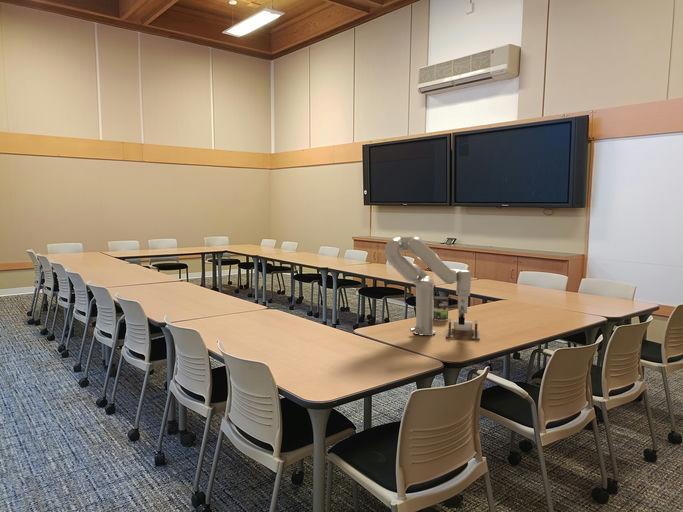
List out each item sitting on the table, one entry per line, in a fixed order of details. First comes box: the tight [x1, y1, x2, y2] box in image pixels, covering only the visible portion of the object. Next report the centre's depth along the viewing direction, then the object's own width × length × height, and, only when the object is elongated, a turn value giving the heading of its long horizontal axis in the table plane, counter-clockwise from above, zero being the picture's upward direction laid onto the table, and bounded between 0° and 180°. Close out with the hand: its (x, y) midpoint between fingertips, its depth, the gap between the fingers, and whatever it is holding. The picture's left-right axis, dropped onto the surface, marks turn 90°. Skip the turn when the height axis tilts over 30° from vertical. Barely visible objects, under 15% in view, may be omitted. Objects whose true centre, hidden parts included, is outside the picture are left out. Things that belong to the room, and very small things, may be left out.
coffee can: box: [433, 295, 449, 322], centre depth 305 cm, size 10×10×14 cm
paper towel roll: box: [453, 320, 473, 331], centre depth 267 cm, size 10×6×6 cm, turn 76°
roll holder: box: [445, 318, 481, 341], centre depth 267 cm, size 18×16×8 cm
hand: (461, 322), depth 267 cm, fingers open, 9 cm apart
